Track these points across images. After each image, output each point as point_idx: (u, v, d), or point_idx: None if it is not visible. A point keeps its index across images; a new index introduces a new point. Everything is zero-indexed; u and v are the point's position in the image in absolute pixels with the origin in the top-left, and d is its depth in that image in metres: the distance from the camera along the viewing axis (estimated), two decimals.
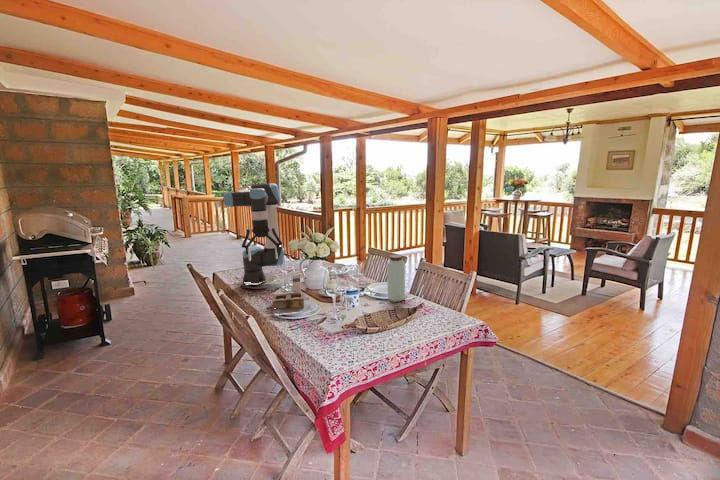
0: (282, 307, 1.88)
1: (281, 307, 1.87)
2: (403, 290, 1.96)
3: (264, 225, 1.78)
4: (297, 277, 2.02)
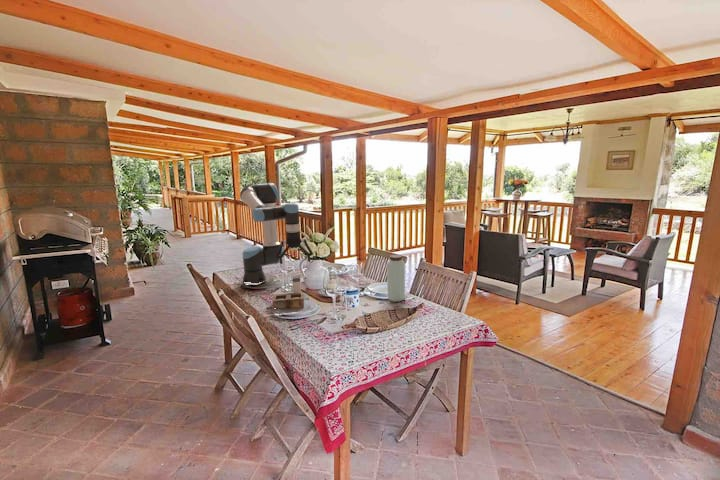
0: (282, 307, 1.88)
1: (281, 307, 1.87)
2: (403, 290, 1.96)
3: (297, 237, 1.94)
4: (297, 277, 2.02)
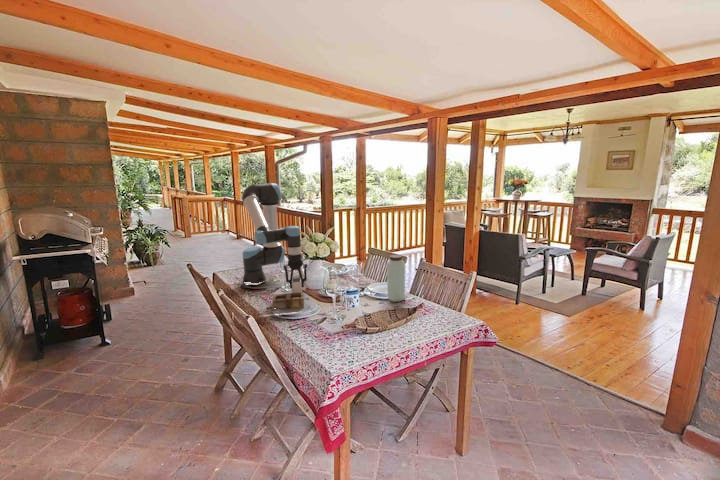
0: (282, 307, 1.88)
1: (281, 307, 1.87)
2: (403, 290, 1.96)
3: (299, 259, 1.97)
4: (297, 277, 2.02)
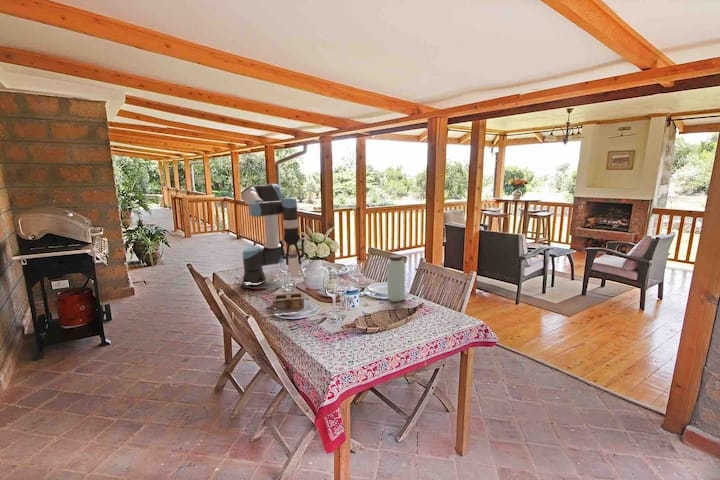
0: (282, 307, 1.88)
1: (281, 307, 1.87)
2: (403, 290, 1.96)
3: (295, 233, 1.83)
4: (294, 253, 1.88)
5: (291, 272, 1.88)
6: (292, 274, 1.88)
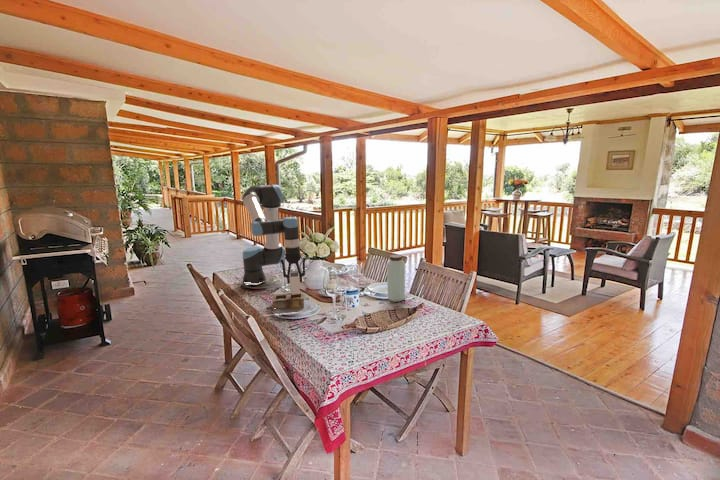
0: (282, 307, 1.88)
1: (281, 307, 1.87)
2: (403, 290, 1.96)
3: (297, 252, 1.85)
4: (295, 271, 1.90)
5: (292, 290, 1.90)
6: (293, 292, 1.90)
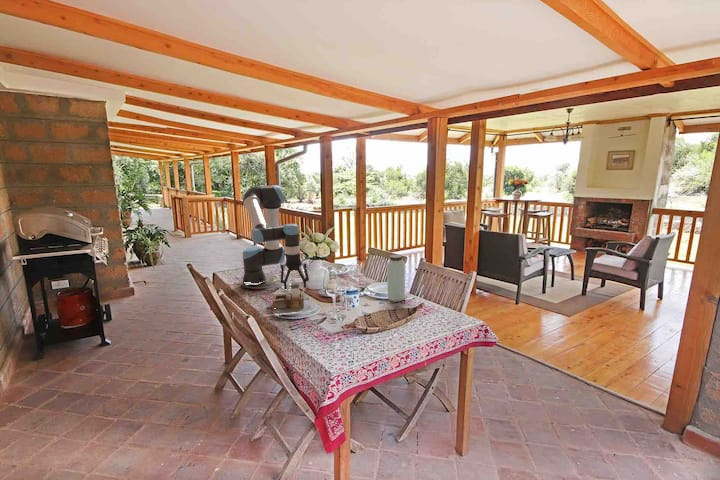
0: (282, 307, 1.88)
1: (281, 307, 1.87)
2: (403, 290, 1.96)
3: (297, 259, 1.86)
4: (296, 283, 1.91)
5: None
6: None
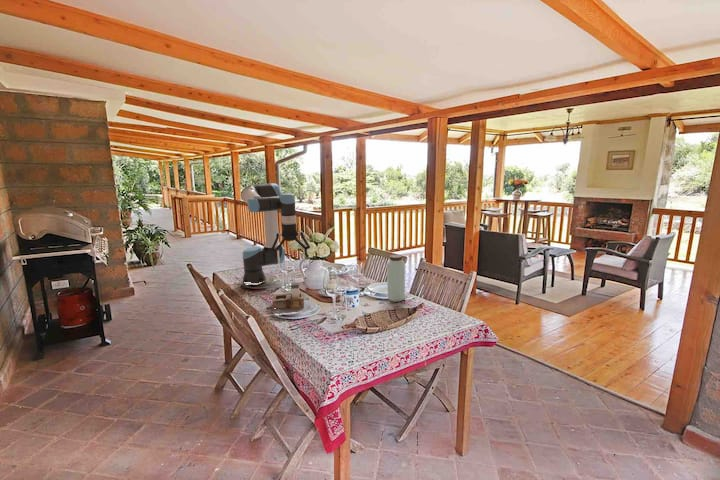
0: (282, 307, 1.88)
1: (281, 307, 1.87)
2: (403, 290, 1.96)
3: (293, 229, 1.84)
4: (296, 283, 1.91)
5: None
6: None
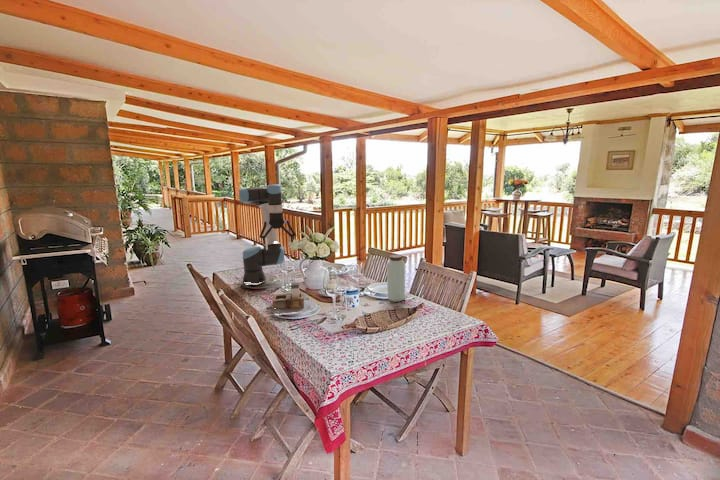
0: (282, 307, 1.88)
1: (281, 307, 1.87)
2: (403, 290, 1.96)
3: (280, 217, 1.98)
4: (296, 283, 1.91)
5: None
6: None
